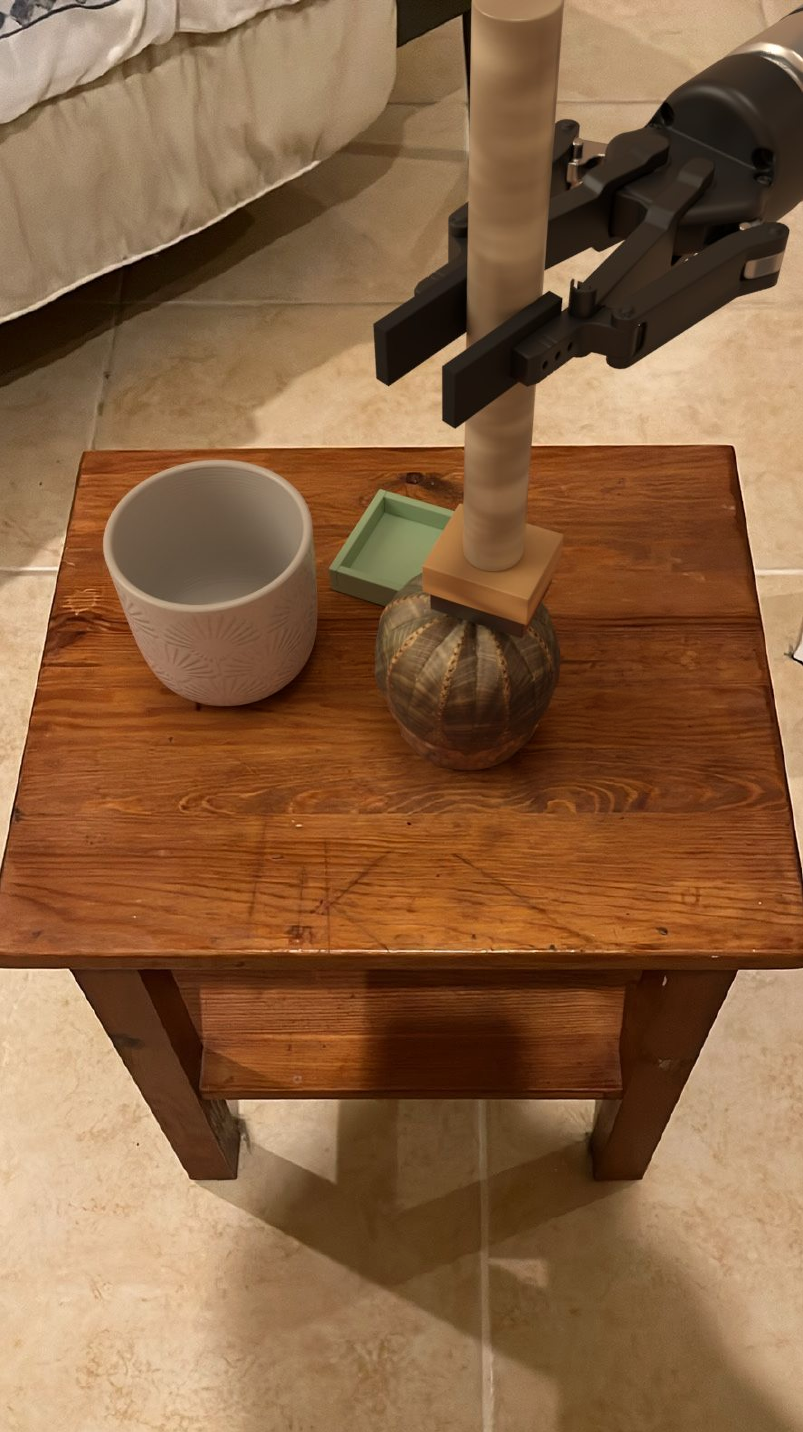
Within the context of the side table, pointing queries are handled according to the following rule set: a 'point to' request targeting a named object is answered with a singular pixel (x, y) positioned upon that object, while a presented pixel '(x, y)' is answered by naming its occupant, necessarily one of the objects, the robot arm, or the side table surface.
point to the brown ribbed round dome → (463, 680)
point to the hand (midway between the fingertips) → (415, 376)
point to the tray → (387, 547)
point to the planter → (216, 578)
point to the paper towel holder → (503, 316)
